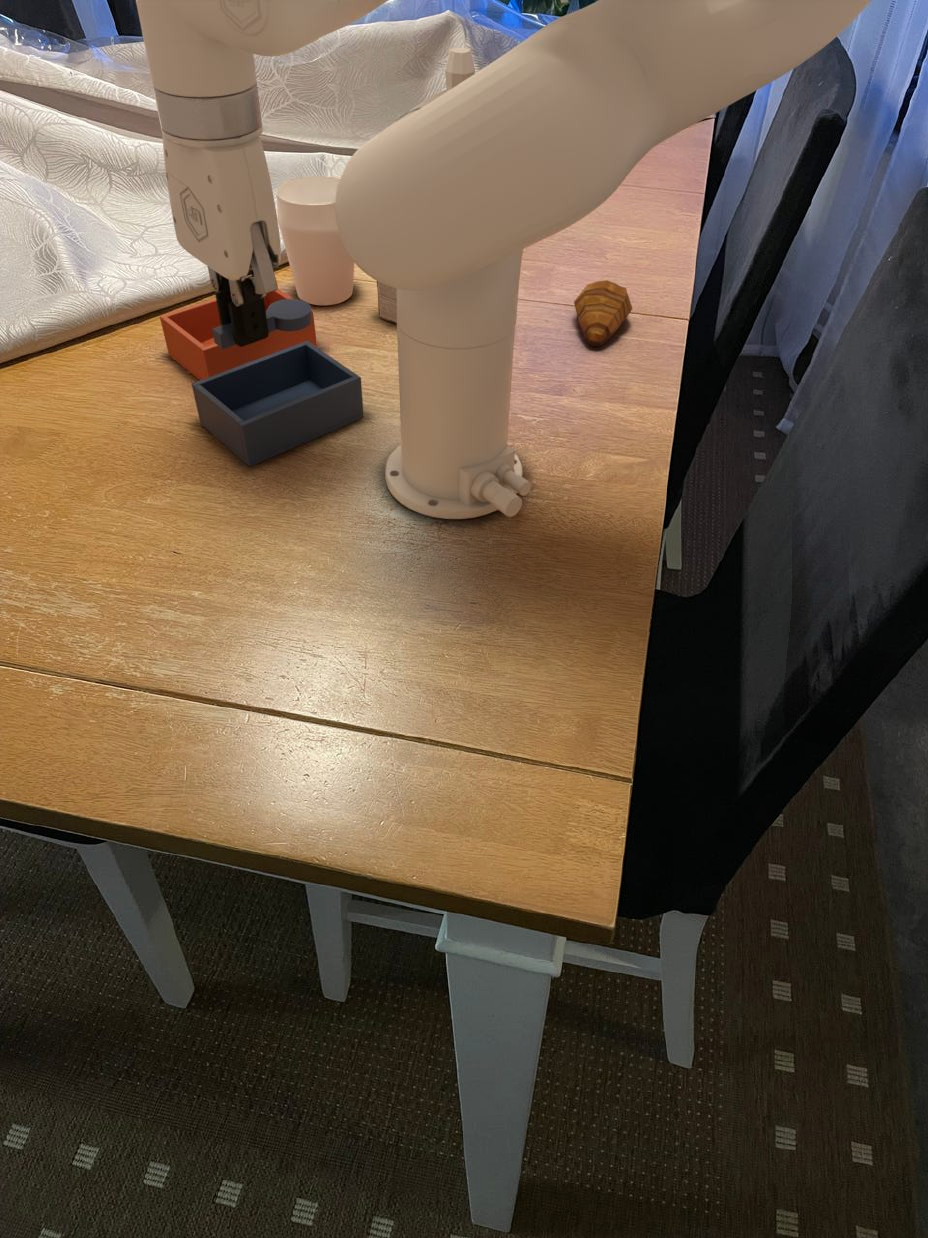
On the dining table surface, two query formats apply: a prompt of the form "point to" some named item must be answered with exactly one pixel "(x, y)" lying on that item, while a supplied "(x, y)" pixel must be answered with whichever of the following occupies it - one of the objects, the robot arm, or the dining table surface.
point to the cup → (314, 240)
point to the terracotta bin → (195, 328)
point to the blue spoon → (272, 320)
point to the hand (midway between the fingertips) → (245, 335)
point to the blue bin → (278, 402)
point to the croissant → (602, 310)
